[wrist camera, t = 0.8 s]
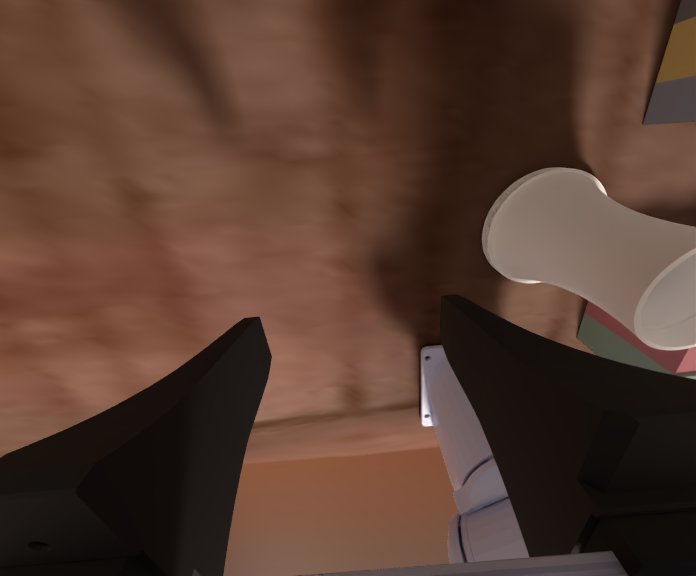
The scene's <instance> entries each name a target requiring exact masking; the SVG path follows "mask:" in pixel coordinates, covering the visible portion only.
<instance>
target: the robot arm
mask: <svg viewBox="0 0 696 576" xmlns="http://www.w3.org/2000/svg"><path fill="white" fill-rule="evenodd" d="M440 341H441V344H442V345H435V346H426V347H424V348H422V350H421V423H422V425H423V426H433V428H434V431H435V434H436V437H437V440H438V443H439V446H440V449H441V452H442V455H443V458H444V461H445V465H446V468H447V471H448V474H449V477H450V480H451V483H452V485H453V488H454V490H455V492H453V496H454V499H455V502H456V505H457V509H458V512H459V513H456V514H454V515H453V516H452V517H451V519H450V522H449V529H448V553H449V561H450V564H439V565H428V566H414V567H402V568H389V569H377V570H363V571H350V572H339V573H324V574H312V575H299V576H696V379H692V378H687V377H682V376H677V375H672V374H667V373H662V372H657V371H653V370H649V369H645V368H641V367H637V366H633V365H629V364H625V363H621V362H617V361H614V360H610V359H607V358H603V357H600V356H596V355H593V354H590V353H587V352H584V351H581V350H577V349H574V348H571V347H569V346H566V345H563V344H560V343H557V342H555V341H552V340H550V339H547V338H545V337H542V336H539V335H537V334H535V333H532V332H530V331H528V330H526V329H523V328H521V327H519V326H517V325H515V324H513V323H511V322H509V321H507V320H505V319H503V318H501V317H499V316H497V315H495V314H493V313H491V312H489V311H488V310H486V309H484V308H482V307H480V306H478V305H477V304H475V303H473V302H471V301H469V300H468V299H466V298H464V297H462V296H460V295H448V296H441V320H440ZM427 356H429V357H428V358H425V357H427ZM271 358H272V356H271V353H270V349H269V346H268V343H267V339H266V336H265V333H264V330H263V326H262V323H261V320H260V317H251V318H244V319H243V320H241V321H240V322H238V323H237V324H235V325H234V326H233V327H232V328H230V329H229V330H228V331H227V332H225V333H224V334H223V335H222V336H220V337H219V338H218V339H217V340H215V341H214V342H213V343H212V344H210V345H209V346H208V347H207V348H205V349H204V350H203V351H201V352H200V353H199V354H197V355H196V356H194V357H193V358H192V359H190V360H189V361H188V362H186V363H185V364H184V365H182V366H181V367H179V368H178V369H176V370H175V371H173V372H172V373H170V374H169V375H167V376H166V377H164V378H163V379H161V380H159V381H158V382H156V383H155V384H153V385H151V386H150V387H148V388H146V389H144V390H143V391H141V392H139V393H137V394H135V395H134V396H132V397H130V398H128V399H126V400H125V401H123V402H121V403H119V404H117V405H116V406H114V407H112V408H110V409H108V410H106V411H104V412H102V413H100V414H98V415H96V416H94V417H91V418H89V419H87V420H85V421H83V422H81V423H79V424H77V425H74V426H72V427H70V428H68V429H65V430H63V431H61V432H59V433H56V434H54V435H51V436H49V437H47V438H44V439H42V440H40V441H37V442H35V443H32V444H30V445H28V446H25V447H23V448H20V449H18V450H15V451H13V452H10V453H8V454H6V455H4V456H3V457H1V458H0V576H223V573H224V566H225V558H226V551H227V545H228V539H229V532H230V527H231V521H232V515H233V510H234V504H235V499H236V494H237V488H238V483H239V478H240V473H241V469H242V464H243V460H244V455H245V451H246V446H247V442H248V439H249V435H250V432H251V429H252V426H253V423H254V420H255V417H256V414H257V411H258V408H259V405H260V402H261V399H262V396H263V393H264V390H265V387H266V383H267V380H268V376H269V370H270V365H271Z"/></svg>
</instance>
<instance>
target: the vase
mask: <svg viewBox="0 0 696 576" xmlns="http://www.w3.org/2000/svg"><path fill="white" fill-rule="evenodd" d="M588 178H589V179H588ZM482 246H483V251H484V254H485V256H486V258H487V260H488V262H489V263H490V264H491V266H492V267H493V268H494V269H496V270H497V271H498V272H499V273H501V274H502V275H503V276H505V277H506V278H508V279H510V280H513V281H516V282H520V283H539V282H545V283H549V284H552V285H555V286H558V287H561V288H564V289H566V290H568V291H571V292H573V293H575V294H577V295H579V296H581V297H583V298H585V299H586V300H588V301H590V302H592V303H593V304H595V305H597V306H598V307H600V308H601V309H603V310H604V311H605V312H607V313H608V314H610V315H611V316H612V317H614V318H615V319H616V320H618V321H619V322H620V323H621V324H623V325H624V326H625V327H626V328H628V329H629V330H630V331H631V332H632V333H633V334H634V335H636V336H637V337H638V338H639V339H640V340H641V341H642V342H643V343H644V344H646V345H648V346H650V347H652V348H655V349H660V350H682V349H688V348H692V347H696V227H694V226H689V225H683V224H678V223H673V222H669V221H665V220H661V219H658V218H654V217H651V216H648V215H645V214H642V213H639V212H636V211H634V210H631V209H629V208H627V207H625V206H623V205H621V204H619V203H617V202H616V201H614V200H612V199H611V198H609V197H608V196H607V194H606V191H605V189H604V187H603V186H602V184H601V183H600V182H599V180H598V179H596V178H595V177H594V176H593V175H591V174H589V173H587V172H585V171H582V170H579V169H572V168H563V167H551V168H545V169H541V170H537V171H534V172H532V173H530V174H527V175H525V176H524V177H522V178H520V179H518V180H517V181H516V182H514V183H513V184H512V185H510V186H509V187H508V188H507V189H506V190H505V191H504V192H503V193H502V194H501V195H500V196H499V197H498V199H497V200H496V201H495V203H494V204H493V206H492V207H491V209H490V211H489V213H488V215H487V217H486V220H485V223H484V226H483V232H482Z"/></svg>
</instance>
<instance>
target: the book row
mask: <svg viewBox="0 0 696 576" xmlns="http://www.w3.org/2000/svg"><path fill="white" fill-rule="evenodd" d="M695 121H696V0H681V3H680V6H679V9H678V12H677V16H676V19H675V22H674V25H673V28H672V32H671V35H670V38H669V41H668V45H667V48H666V51H665V54H664V58H663V61H662V64H661V67H660V70H659V74H658V77H657V80H656V83H655V87H654V90H653V93H652V96H651V99H650V103H649V106H648V109H647V112H646V116H645V119H644V122H643V125H649V124H664V123H680V122H695ZM577 339H578V340H580V341H581V342H582V343H583V344H584V345H586V346H587V347H588V348H589V349H590V350H592V351H593V352H594V353H595V354H596V355H598V356H600V357H603V358H607V359H610V360H614V361H617V362H621V363H625V364H629V365H633V366H637V367H641V368H645V369H649V370H653V371H657V372H662V373H667V374H672V375H677V376H682V377H687V378H692V379H696V347H692V348H688V349H682V350H660V349H655V348H652V347H650V346H648V345H646V344H644V343H643V342H642V341H641V340H640V339H639V338H638V337H637V336H636V335H634V334H633V333H632V332H631V331H630V330H629V329H628V328H626V327H625V326H624V325H623V324H621V323H620V322H619V321H618V320H616V319H615V318H614V317H612V316H611V315H610V314H608V313H607V312H605V311H604V310H603V309H601V308H600V307H598V306H597V305H595V304H593V303H592V302H590V301H588V303H587V306H586V309H585V313H584V316H583V319H582V322H581V325H580V329H579V332H578V335H577Z"/></svg>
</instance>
